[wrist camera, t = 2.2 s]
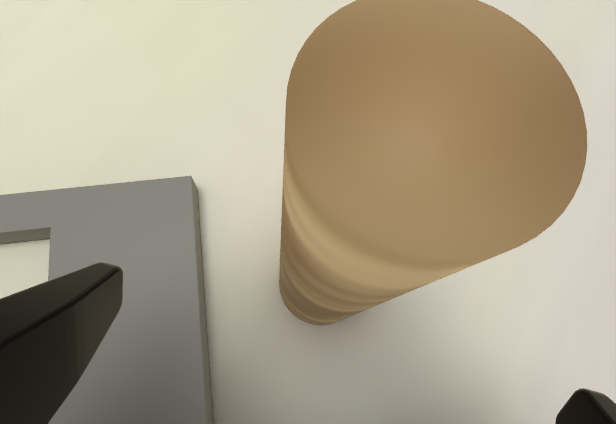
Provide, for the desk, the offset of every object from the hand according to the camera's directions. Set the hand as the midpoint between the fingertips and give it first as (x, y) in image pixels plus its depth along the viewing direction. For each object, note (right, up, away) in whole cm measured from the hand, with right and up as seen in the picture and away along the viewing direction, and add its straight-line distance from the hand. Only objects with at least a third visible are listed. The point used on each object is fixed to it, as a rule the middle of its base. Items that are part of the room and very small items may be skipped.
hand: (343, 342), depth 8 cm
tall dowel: (0, -1, +10) cm, 10 cm away
